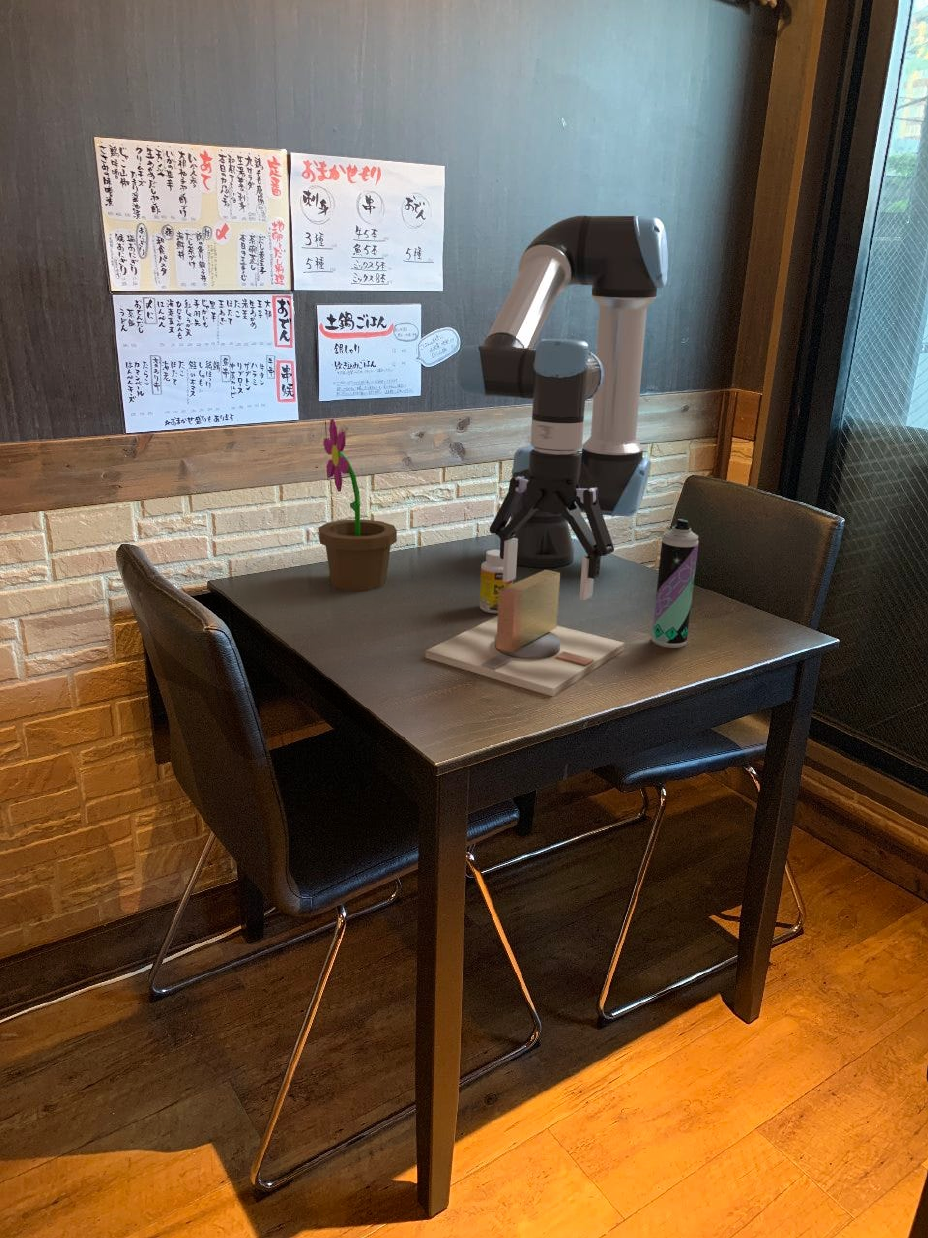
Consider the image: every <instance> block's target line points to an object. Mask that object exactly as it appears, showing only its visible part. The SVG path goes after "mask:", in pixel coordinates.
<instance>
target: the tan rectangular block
mask: <svg viewBox="0 0 928 1238" xmlns="http://www.w3.org/2000/svg"><path fill="white" fill-rule="evenodd" d="M560 579H561V572H558V571H554V570H553V571H552V570H550V569H549V570H548V569H544V570H541V571H540V572H537V573H535V574H532V575H530V576H528V577H525V578H523V579H520V580H519V581H517V582H513V584H512V585H509V586H506V587H504V588H501V589H499V599H498V614H497V616H498V621H497V644H496V648H497V649H501V650H504V651H508V652H511V653H512V652H514V651H516V650H518V649H519V648H520V647H522V646H524V645H526V644H528V643H529V642H534V641H536V639H537V638H539V637H540V636H542V635H544V634H546V633H548V632H550V631H551V630H553V629H555V628H557V626H558V614H559V613H558V611H559V597H560V584H561V583H560V582H561V581H560Z"/></svg>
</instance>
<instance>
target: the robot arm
mask: <svg viewBox="0 0 928 1238" xmlns="http://www.w3.org/2000/svg"><path fill="white" fill-rule="evenodd" d="M666 233H667V232H666V229H665V225H664V223H663V222H662V221H661V220H660V219H659V218H658V217H653V216H643V215H642V216H641V215H638V214H637V215H575V216H570V217H568V218H564V219H561V220H559V221H558V222H555V223H554V224H552V225H551V226H548V227H547V228H546V229H545V230H543V231H542V232H541V233H539V234H538V235H536V237H535V238H534V239H533V240H532V241H531V242H530V243H528V245H527V247H526V248H525V250H524V251H523V253H522V255H521V257H520V260H519V262H518V276H517V278H516V280H515V281H514V283H513V285H512V287H511V289H510V291H509V293H508V294H507V297H506V299H505V301H504V303H503V305H502V307H501V308H500V311H499V313H498V314H497V317H496V319H495V320H494V322H493V324H492V327H491V328H490V330H489V333H488V334H487V336H486V338H485V339H484V341H483V343H482V345H479V343H478V344H477V343H476V344H475V345H470V344H469V345H466V346H463V347H462V348H461V349H460V351H459V354H458V357H457V360H456V380H457V385H458V387H459V389H460V390H461V392H463V393H465V394H467V395H476V396H482V397H484V398H485V397H497V398H512V399H513V398H514V399H526V400H527V399H528V400H532V411H531V424H530V425H531V426H530V427H531V428H530V429H531V430H530V444H528V445H525V446H521V447H520V448H518V449H517V450H516V451H515V453H514V456H513V461H512V462H513V463H512V469H511V473H512V474H511V476H512V477H511V478H510V480H509V485H508V491H507V493H506V495H505V497H504V499H503V501H502V503H501V505H500V507H499V509H498V511H497V513H496V515H495V517H494V519H493V521H492V523H491V524H490V527H489V532H490V534H492V535H493V534H495V535H496V536H497V537H498V538H499V542H500V543H499V550H500V558H501V559H504V561H503V582H509V581H511V580H513V581H514V580H516V579H517V566H521V567H527V568H528V567H530V568H542V569H543V568H544V569H545V568H556V567H562V566H567V565H569V564H571V563H573V561H574V559H575V558H574V557H575V547H574V544H573V543H574V542H573V539H572V535H571V531H570V528H571V529H572V531H573V533H574V535H575V536H576V538H577V540H578V541H579V543H580V545H581V546H582V548H583V550H584V552H585V553H586V555H584V556H582V558H581V559H582V560H581V573H580V574H581V575H580V586H579V587H580V588H579V598H578V599H579V601H585V600H588V599H589V598H592V597H593V594H594V593H593V591H594V581H595V579H596V578H598V577H599V575H600V569H601V558H602V557H604V556H605V557H606V556H607V555H609V554H612V553H613V552H614V551H615V546H614V544H613V541H612V538H611V535H610V532H609V530H608V526H607V524H606V521H605V518H604V516H610V517H612V518H613V517H624V518H625V517H627V518H628V517H632V516H634V515H636V513H637V512H638V511H639V509H640V505H641V503H642V501H643V497H644V495H645V491H646V487H647V484H648V478H649V473H650V470H651V468H650V466H651V460H650V458H648V457H646V456H644V457H643V453H644V451H643V450H644V447H643V445H642V444H641V443H640V442H639V441H638V440H637V429H638V428H637V427H638V417H639V416H638V415H639V405H640V393H641V381H642V371H643V370H642V368H643V358H644V346H645V345H644V344H645V333H646V321H647V311H648V307H649V306H650V305H651V304H652V303H653V302H654V301H655V300H656V299H657V295H658V293H657V292H658V289H662V288H664V287H666V284H667V281H668V268H669V267H668V266H669V261H668V260H669V255H668V253H669V252H668V239H667V234H666ZM574 285H579V286H580V285H581V286H591V298H592V299H593V300H594V301H595V303H596V304H597V305H598V307H599V308H598V320H597V321H598V322H597V335H596V337H597V339H596V340H597V341H596V350H595V353H596V354H595V353H593V352H591V351H590V349H589V344H588V342H586V341H584V340H581V339H572V338H571V339H570V338H567V339H566V338H543V339H540V340H539V341H538V342H537V340H538V337H539V334H540V332H541V331H542V330H543V326H544V324H545V322H546V320H547V318H548V316H549V314H550V312H551V309H552V307H553V306H554V303H555V301H556V298H557V296H558V295H560V294H561V293H563V292H564V291H565V290H566V289H567V287H569V286H574ZM536 342H537V344H536V348H533V347H534V345H535V343H536ZM591 398H593V400H592V413H591V428H590V429H591V430H590V436H589V438H588V439H587V440H586V441H584V443H583V437H584V434H583V433H584V422H585V421H584V420H585V404H586V401H588V399H591ZM580 449H581V452H580V451H578V450H580ZM583 513H584V514H585V515H586V518H587V521H588V523H587V522H586V520H585V518H584V516H583ZM588 524H589V525H588ZM569 526H570V527H569Z"/></svg>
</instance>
